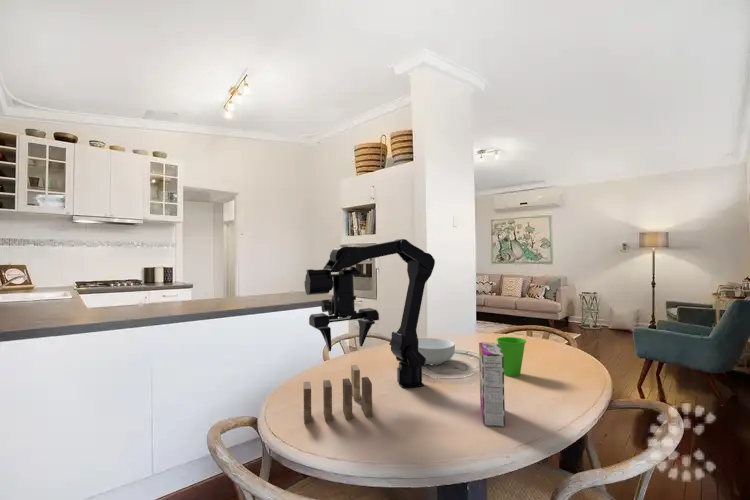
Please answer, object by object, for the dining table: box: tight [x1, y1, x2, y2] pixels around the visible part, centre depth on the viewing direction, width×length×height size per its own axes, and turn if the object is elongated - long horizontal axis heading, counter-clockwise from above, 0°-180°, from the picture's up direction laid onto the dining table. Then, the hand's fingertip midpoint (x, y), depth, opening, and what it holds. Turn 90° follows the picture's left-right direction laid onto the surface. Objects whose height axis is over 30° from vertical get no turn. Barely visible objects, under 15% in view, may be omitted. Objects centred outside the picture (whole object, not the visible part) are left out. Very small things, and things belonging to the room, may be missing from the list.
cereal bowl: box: [418, 337, 456, 365], centre depth 137 cm, size 17×17×7 cm
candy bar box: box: [478, 341, 506, 428], centre depth 91 cm, size 11×5×16 cm, turn 168°
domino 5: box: [361, 376, 373, 418], centre depth 94 cm, size 2×5×8 cm, turn 12°
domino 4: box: [350, 364, 361, 402], centre depth 105 cm, size 2×5×8 cm, turn 12°
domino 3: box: [342, 378, 353, 420], centre depth 93 cm, size 2×5×8 cm, turn 12°
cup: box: [495, 336, 527, 378], centre depth 122 cm, size 9×9×11 cm
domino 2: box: [322, 379, 333, 422], centre depth 92 cm, size 2×5×8 cm, turn 12°
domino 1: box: [303, 381, 312, 425], centre depth 91 cm, size 2×5×8 cm, turn 12°
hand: (345, 348), depth 106 cm, fingers open, 9 cm apart
